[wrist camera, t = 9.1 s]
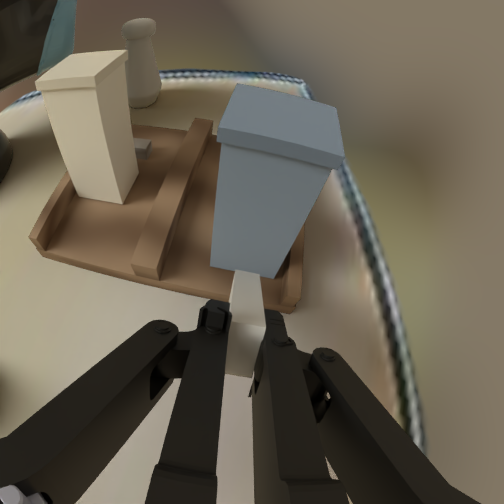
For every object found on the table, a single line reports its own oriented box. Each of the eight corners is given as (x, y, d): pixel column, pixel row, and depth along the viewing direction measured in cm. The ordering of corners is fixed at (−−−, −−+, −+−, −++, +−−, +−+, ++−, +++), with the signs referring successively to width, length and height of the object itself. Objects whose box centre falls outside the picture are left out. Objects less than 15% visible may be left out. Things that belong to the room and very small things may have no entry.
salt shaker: (160, 89, 37) (161, 13, 25) (163, 107, 34) (163, 21, 23) (123, 95, 35) (117, 19, 24) (121, 114, 32) (113, 29, 21)
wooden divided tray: (289, 313, 23) (304, 299, 20) (42, 256, 21) (26, 236, 18) (299, 163, 32) (308, 141, 29) (115, 132, 30) (111, 110, 27)
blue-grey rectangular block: (275, 281, 22) (344, 157, 11) (206, 268, 22) (218, 127, 11) (280, 234, 24) (336, 107, 13) (218, 221, 24) (237, 83, 13)
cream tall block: (123, 206, 23) (94, 76, 12) (76, 197, 23) (34, 81, 12) (141, 171, 25) (127, 49, 15) (96, 165, 25) (70, 54, 14)
